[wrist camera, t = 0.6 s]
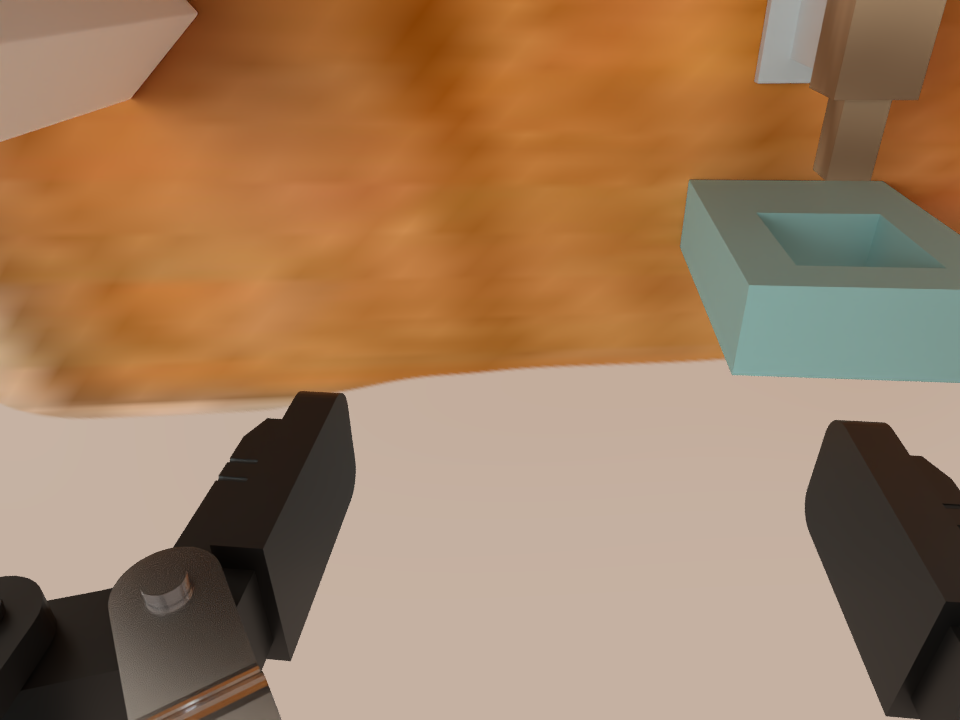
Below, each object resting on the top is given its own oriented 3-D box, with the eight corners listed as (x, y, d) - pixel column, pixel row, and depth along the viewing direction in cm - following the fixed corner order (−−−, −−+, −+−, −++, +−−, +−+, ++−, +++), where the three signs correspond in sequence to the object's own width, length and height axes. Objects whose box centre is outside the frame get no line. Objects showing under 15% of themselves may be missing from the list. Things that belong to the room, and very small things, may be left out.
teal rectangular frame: (689, 179, 34) (749, 285, 23) (882, 181, 33) (1040, 291, 22) (680, 247, 35) (731, 375, 25) (863, 250, 34) (1001, 384, 24)
